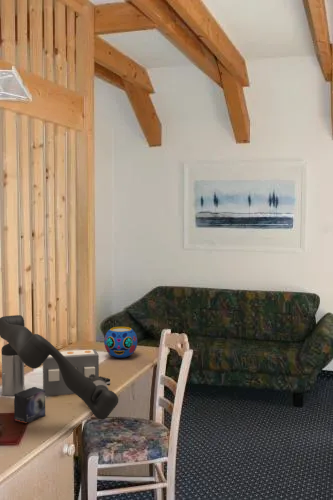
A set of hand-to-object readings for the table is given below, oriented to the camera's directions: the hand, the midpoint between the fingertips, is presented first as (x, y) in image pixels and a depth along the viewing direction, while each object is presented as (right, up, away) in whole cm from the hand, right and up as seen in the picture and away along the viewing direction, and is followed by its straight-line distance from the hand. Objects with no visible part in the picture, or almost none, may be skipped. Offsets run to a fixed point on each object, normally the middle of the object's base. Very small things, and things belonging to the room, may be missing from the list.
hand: (92, 376), depth 238 cm
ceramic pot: (+7, -4, +63) cm, 63 cm away
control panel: (-10, -8, +9) cm, 16 cm away
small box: (-20, -11, -24) cm, 33 cm away
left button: (-16, -2, +1) cm, 16 cm away
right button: (-2, -1, +5) cm, 5 cm away
